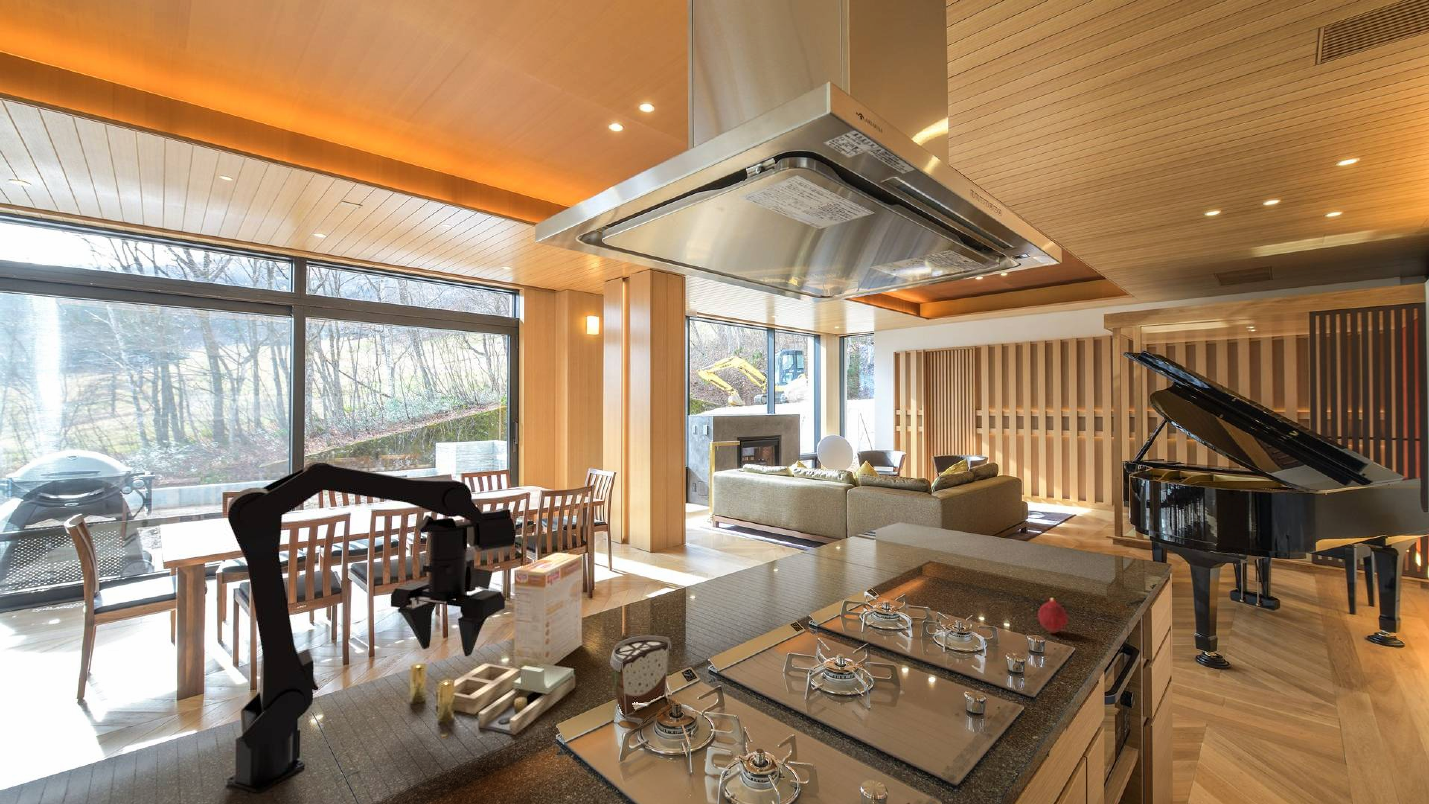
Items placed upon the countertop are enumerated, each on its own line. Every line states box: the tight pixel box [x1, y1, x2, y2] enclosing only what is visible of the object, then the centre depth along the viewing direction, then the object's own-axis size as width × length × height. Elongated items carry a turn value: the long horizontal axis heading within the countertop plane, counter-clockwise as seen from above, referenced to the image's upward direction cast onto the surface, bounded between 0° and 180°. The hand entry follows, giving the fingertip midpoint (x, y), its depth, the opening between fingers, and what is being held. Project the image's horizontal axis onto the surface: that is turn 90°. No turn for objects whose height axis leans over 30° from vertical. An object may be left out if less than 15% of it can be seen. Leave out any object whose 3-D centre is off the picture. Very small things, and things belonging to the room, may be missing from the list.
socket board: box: [435, 662, 521, 715], centre depth 105 cm, size 12×8×2 cm, turn 161°
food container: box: [609, 635, 672, 716], centre depth 103 cm, size 12×6×10 cm, turn 141°
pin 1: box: [409, 662, 427, 705], centre depth 103 cm, size 2×2×6 cm
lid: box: [512, 663, 575, 694], centre depth 105 cm, size 8×7×4 cm
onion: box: [1037, 597, 1068, 634], centre depth 136 cm, size 6×6×8 cm
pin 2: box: [437, 679, 455, 725], centre depth 96 cm, size 2×2×6 cm
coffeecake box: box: [513, 552, 583, 671], centre depth 122 cm, size 15×7×20 cm, turn 162°
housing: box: [477, 674, 576, 736], centre depth 101 cm, size 17×7×2 cm, turn 161°
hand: (446, 651), depth 97 cm, fingers open, 8 cm apart
